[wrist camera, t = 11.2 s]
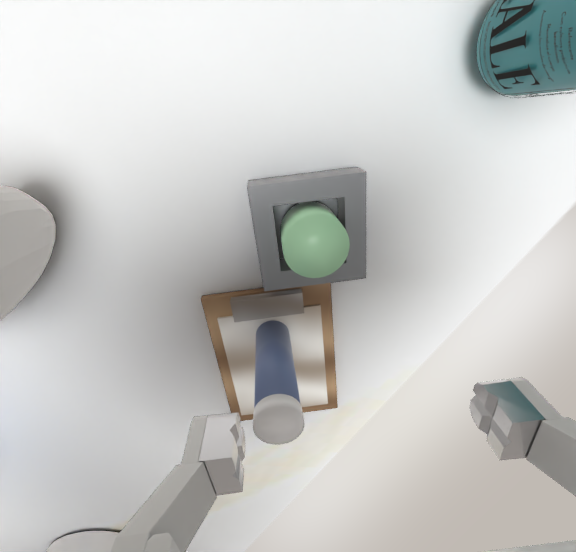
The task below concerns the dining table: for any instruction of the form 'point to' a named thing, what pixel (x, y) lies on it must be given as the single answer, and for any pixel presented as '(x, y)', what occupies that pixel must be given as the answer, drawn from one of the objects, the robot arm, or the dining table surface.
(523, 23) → the beverage bottle
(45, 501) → the dining table surface
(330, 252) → the button
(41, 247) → the soap bottle
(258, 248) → the button housing
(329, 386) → the clipboard
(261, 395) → the marker
